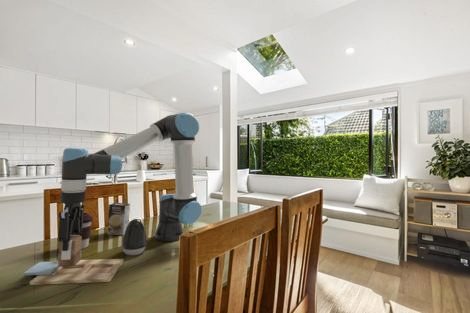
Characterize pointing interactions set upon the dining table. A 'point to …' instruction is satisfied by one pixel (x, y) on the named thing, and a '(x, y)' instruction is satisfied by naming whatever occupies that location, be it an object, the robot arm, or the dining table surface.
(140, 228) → the dark grey rounded dome
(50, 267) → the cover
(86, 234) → the coffee cup
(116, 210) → the coffee box
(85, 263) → the board
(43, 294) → the dining table surface
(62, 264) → the block
